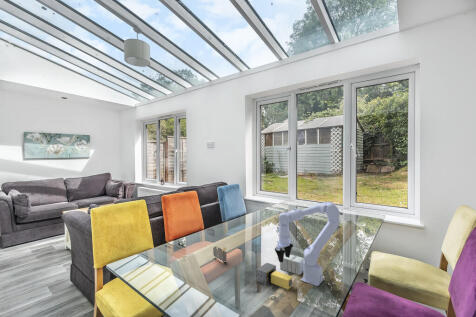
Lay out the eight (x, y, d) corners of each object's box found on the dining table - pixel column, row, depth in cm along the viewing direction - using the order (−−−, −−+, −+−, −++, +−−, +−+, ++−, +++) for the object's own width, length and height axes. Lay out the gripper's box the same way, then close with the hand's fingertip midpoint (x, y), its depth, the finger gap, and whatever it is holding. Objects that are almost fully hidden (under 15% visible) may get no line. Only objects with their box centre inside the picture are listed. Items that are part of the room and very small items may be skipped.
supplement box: (285, 252, 139) (304, 257, 131) (285, 264, 139) (305, 270, 131) (279, 256, 133) (300, 262, 125) (279, 269, 133) (300, 275, 125)
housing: (276, 277, 124) (275, 265, 124) (266, 285, 116) (266, 272, 116) (266, 273, 128) (266, 262, 128) (256, 281, 120) (256, 269, 120)
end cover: (293, 285, 114) (293, 276, 114) (289, 289, 111) (288, 280, 111) (275, 279, 121) (275, 270, 121) (271, 282, 118) (270, 274, 118)
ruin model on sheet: (227, 263, 143) (226, 248, 143) (223, 264, 141) (222, 249, 141) (217, 257, 152) (216, 243, 152) (213, 258, 150) (213, 244, 150)
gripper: (283, 230, 132) (284, 253, 132) (271, 236, 121) (271, 262, 121) (295, 232, 127) (295, 256, 127) (282, 239, 116) (282, 265, 116)
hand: (284, 259), depth 124 cm, fingers open, 7 cm apart
